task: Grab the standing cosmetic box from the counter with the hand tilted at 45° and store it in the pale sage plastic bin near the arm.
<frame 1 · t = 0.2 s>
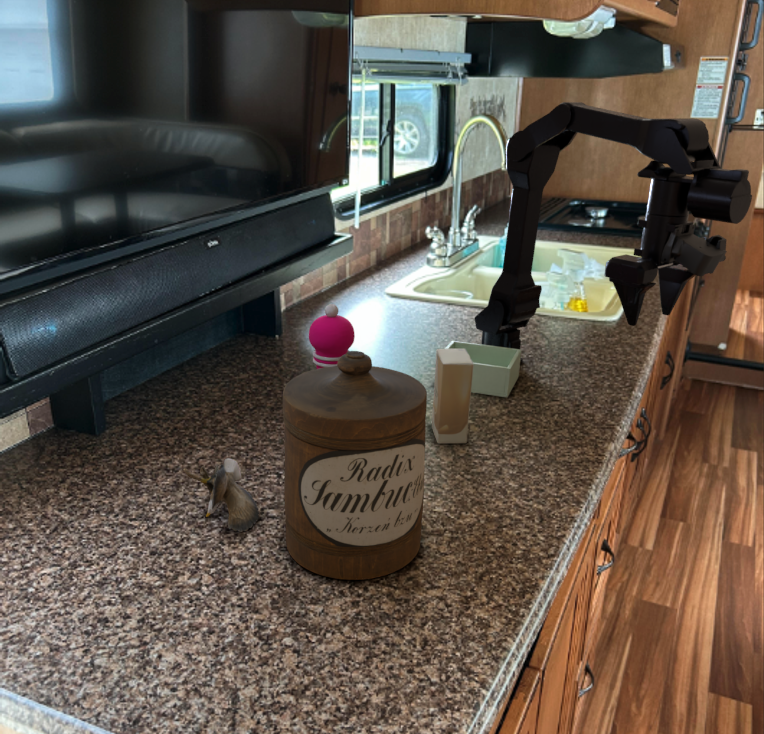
hand: (649, 319, 115), 15 cm above the worktop, tool pointing down, fingers open, 9 cm apart
pepper mill: (332, 445, 107), on the worktop
wooden container: (353, 543, 85), on the worktop
eagle figurine: (225, 514, 90), on the worktop
cosmetic box: (448, 436, 111), on the worktop
bin: (477, 381, 130), on the worktop
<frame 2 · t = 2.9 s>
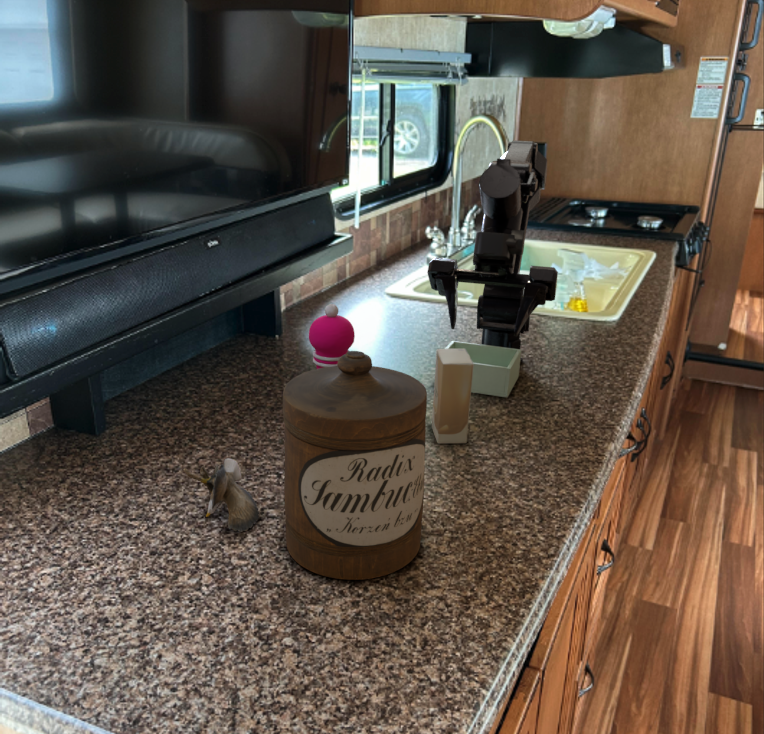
hand: (483, 331, 112), 14 cm above the worktop, tool tilted 40°, fingers open, 9 cm apart
nothing on the worktop moved.
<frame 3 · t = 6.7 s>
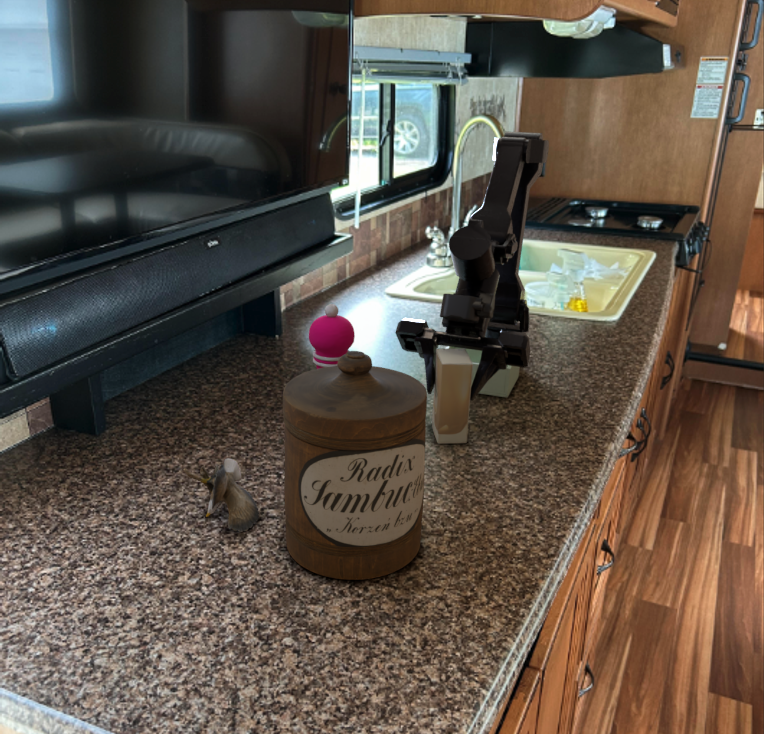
hand: (449, 396, 107), 7 cm above the worktop, tool tilted 45°, fingers closed on cosmetic box, 6 cm apart
cosmetic box: (449, 436, 111), on the worktop, touching gripper
everything else where it was.
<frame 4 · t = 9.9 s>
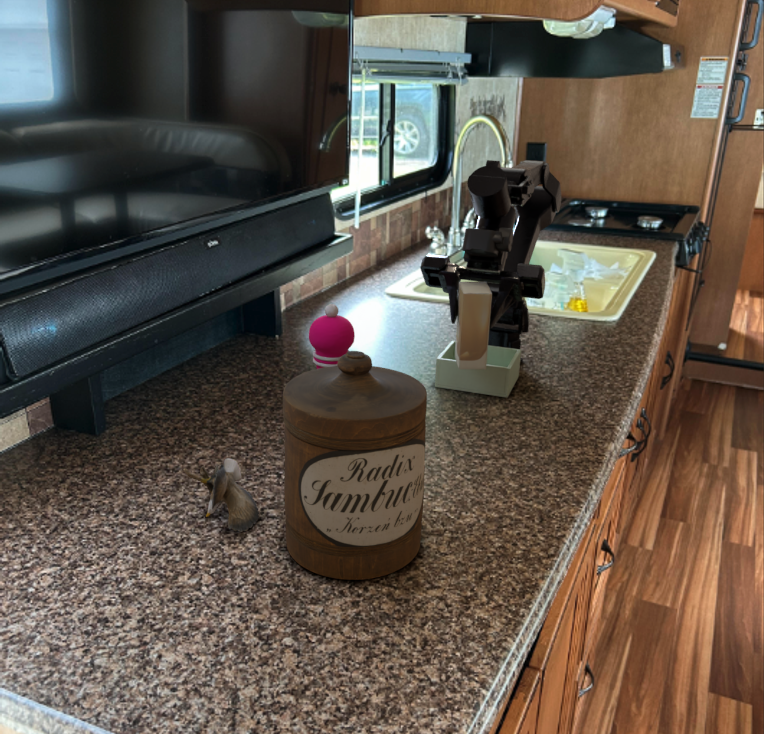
hand: (470, 324, 116), 13 cm above the worktop, tool tilted 45°, fingers closed on cosmetic box, 5 cm apart
cosmetic box: (470, 364, 120), point 6 cm above the worktop, touching gripper
everything else where it was.
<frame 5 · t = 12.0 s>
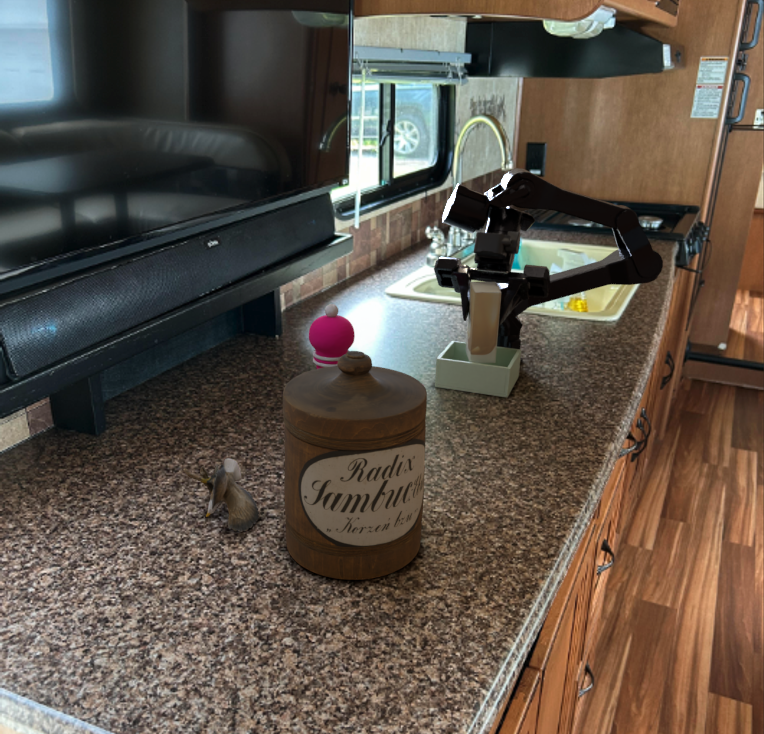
hand: (481, 321, 125), 11 cm above the worktop, tool tilted 45°, fingers closed on cosmetic box, 5 cm apart
cosmetic box: (480, 358, 129), point 4 cm above the worktop, touching gripper
everything else where it was.
when the fingers open (7 cm above the worktop, at t = 13.6 s): cosmetic box stays where it is, resting on bin.
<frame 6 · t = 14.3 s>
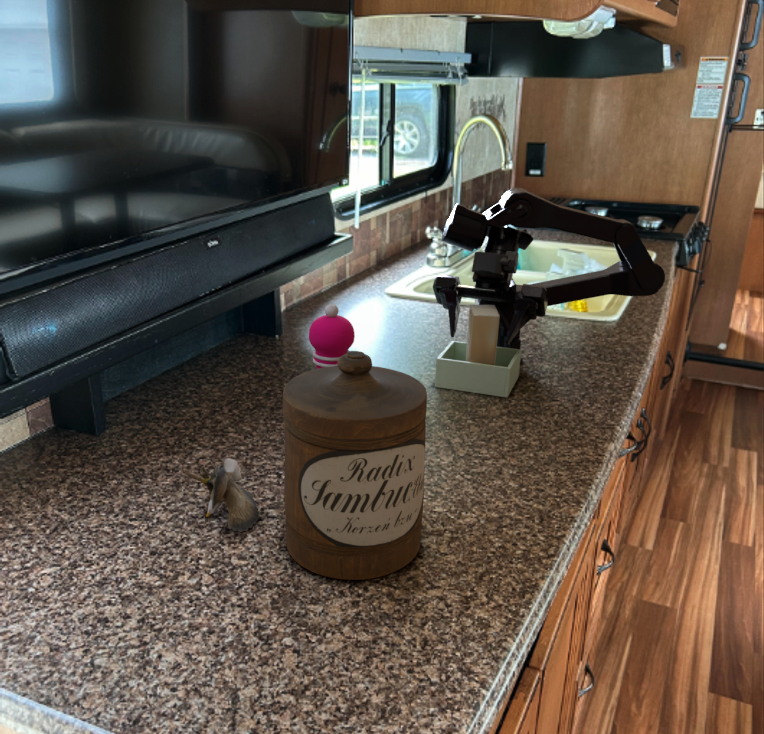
hand: (479, 339, 126), 8 cm above the worktop, tool tilted 45°, fingers open, 9 cm apart
cosmetic box: (478, 380, 130), resting on bin
everything else where it was.
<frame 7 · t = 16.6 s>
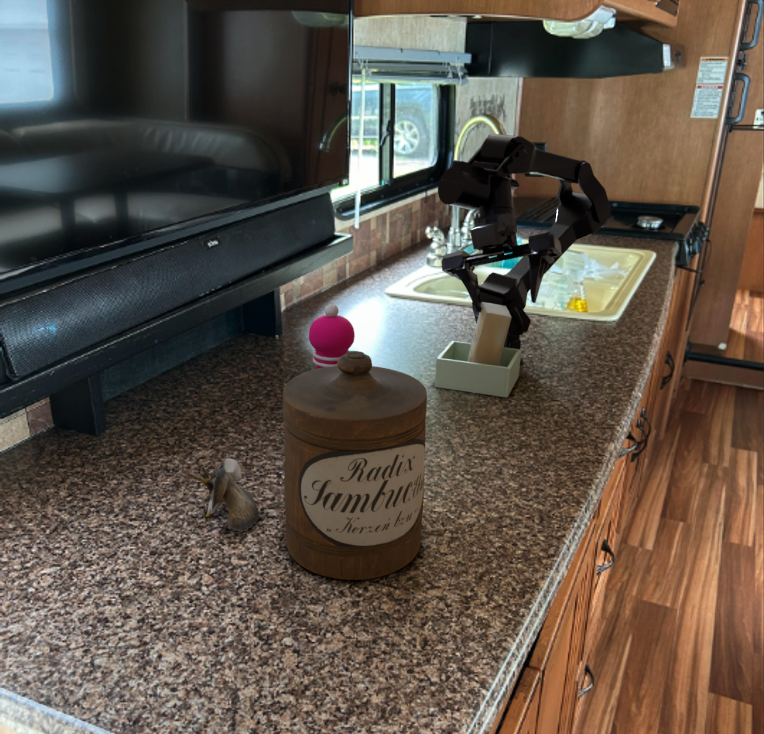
hand: (505, 307, 125), 13 cm above the worktop, tool tilted 30°, fingers open, 9 cm apart
cosmetic box: (478, 378, 130), point 1 cm above the worktop, touching bin, gripper
everything else where it was.
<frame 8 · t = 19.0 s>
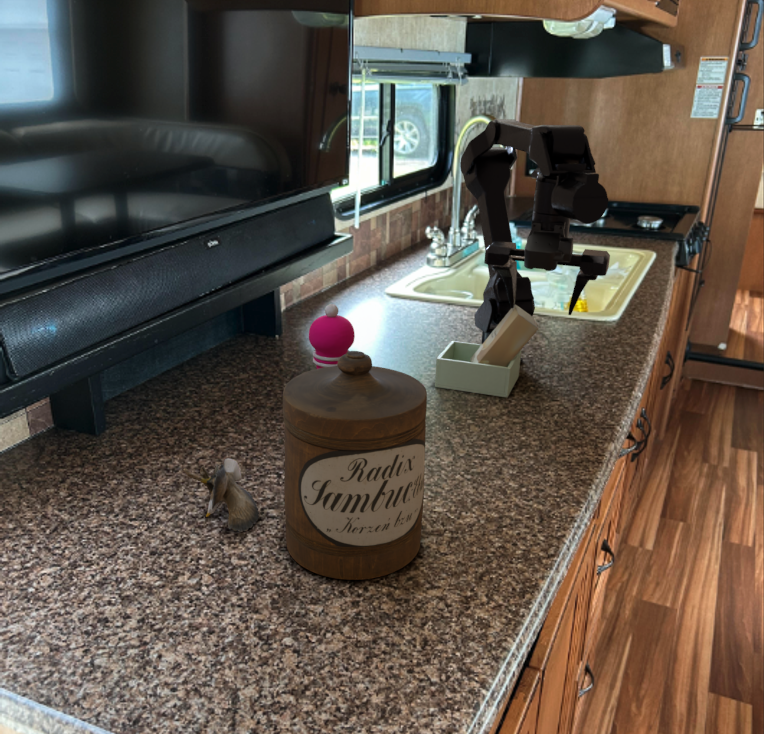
hand: (540, 311, 124), 13 cm above the worktop, tool pointing down, fingers open, 9 cm apart
cosmetic box: (479, 373, 130), point 2 cm above the worktop, touching bin
everything else where it was.
at the end: cosmetic box inside the target area in the bin (0.2 cm from its centre), point 1.5 cm above the bin's base; the gripper is holding nothing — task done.
